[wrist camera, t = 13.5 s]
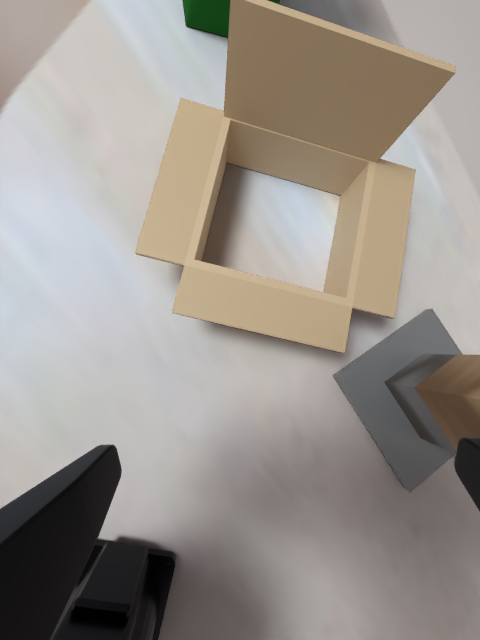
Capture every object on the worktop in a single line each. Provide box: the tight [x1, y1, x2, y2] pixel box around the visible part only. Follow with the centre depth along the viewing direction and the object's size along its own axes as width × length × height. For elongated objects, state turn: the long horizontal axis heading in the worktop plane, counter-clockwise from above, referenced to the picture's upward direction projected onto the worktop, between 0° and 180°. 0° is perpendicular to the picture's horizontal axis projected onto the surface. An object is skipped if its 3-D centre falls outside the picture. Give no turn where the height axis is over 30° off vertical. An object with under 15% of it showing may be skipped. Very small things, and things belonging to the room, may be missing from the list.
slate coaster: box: [333, 309, 463, 492], centre depth 21 cm, size 10×10×1 cm
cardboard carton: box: [135, 0, 456, 353], centre depth 16 cm, size 14×17×10 cm
